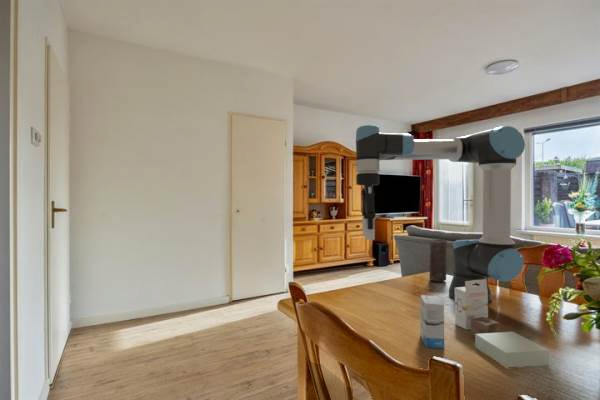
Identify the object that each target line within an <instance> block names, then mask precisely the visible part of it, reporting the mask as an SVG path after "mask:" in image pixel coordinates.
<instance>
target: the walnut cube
mask: <svg viewBox="0 0 600 400" xmlns="http://www.w3.org/2000/svg"><path fill="white" fill-rule="evenodd" d="M498 332H500V322H498V321H497V320H493V319H491V318H489V317H488V318H486V317H479V318H474V319H471V329H470V337H472V338H474V339H475V334H482V333H498Z"/></svg>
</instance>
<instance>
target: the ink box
mask: <svg viewBox="0 0 600 400" xmlns="http://www.w3.org/2000/svg"><path fill="white" fill-rule="evenodd" d="M444 307H445V305H444V304H443V302H442V301H441V299H440V298H439V296H437V295H427V294H426V295H425V294H423V295H422V294H421V295H420V337H421V339H422V341H423V344H424V346H425V348H430V349H431V348H432V349H445V308H444Z"/></svg>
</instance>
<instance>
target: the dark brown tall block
mask: <svg viewBox="0 0 600 400" xmlns="http://www.w3.org/2000/svg"><path fill="white" fill-rule="evenodd" d="M447 245H448V244H447V239H445V238H433V239H430V246H429V248H430V249H429V280H430V281H433V282H436V283H440V282H445V281H446V280H447Z"/></svg>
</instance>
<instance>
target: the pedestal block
mask: <svg viewBox="0 0 600 400" xmlns="http://www.w3.org/2000/svg"><path fill="white" fill-rule="evenodd" d="M474 346H475V348H474V349H477V350H479V351H480V352H481V353H483V354H484V353H485V354H484V355H486V356H487V355H488V356H490V357H491V358H493V359H494V360H496V361H497V362H499V363H500V364H501V365H500V364H499V363H498V364H499V365H500V366H502V365H503V366H504V367H503V366H502V367H503V368H505V367H506V368H505V369H508V368H507V367H518V368H525V367H524V366H531V367H542V366H543V367H544V366H548V365H549V349H547V348H545V347H543V346H542V345H540V344H538V343H536V342H534V341H532V340H531V339H528V338H526V337H524V336H522V335H521V334H518V333H516V332H515V331H503V332H502V331H499V332H498V333H482V334H475V338H474ZM488 356H487V357H488ZM490 357H489V358H490ZM491 358H490V359H491ZM493 359H492V360H493ZM494 360H493V361H494ZM496 361H495V362H496ZM497 362H496V363H497ZM522 366H523V367H522Z"/></svg>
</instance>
